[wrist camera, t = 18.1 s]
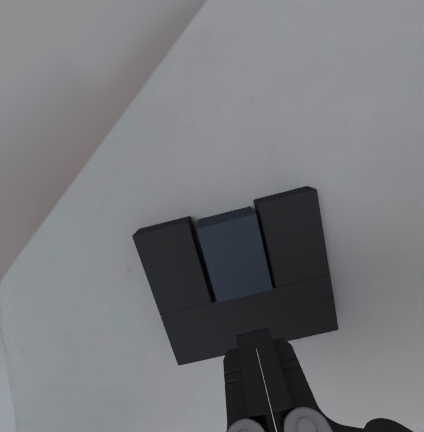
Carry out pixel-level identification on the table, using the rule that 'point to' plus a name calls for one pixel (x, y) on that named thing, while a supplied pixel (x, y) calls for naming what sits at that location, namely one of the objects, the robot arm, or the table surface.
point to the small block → (234, 254)
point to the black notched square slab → (252, 304)
